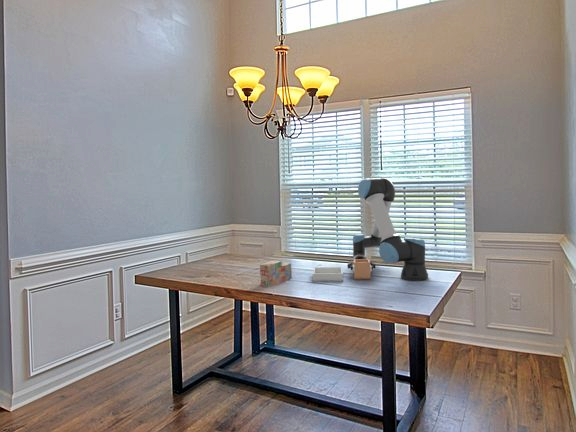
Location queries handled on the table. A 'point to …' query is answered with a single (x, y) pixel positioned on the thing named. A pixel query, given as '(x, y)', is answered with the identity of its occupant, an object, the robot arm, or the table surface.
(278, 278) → the stack of blocks
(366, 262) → the terracotta crate
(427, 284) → the table surface
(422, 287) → the table surface
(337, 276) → the grey crate
